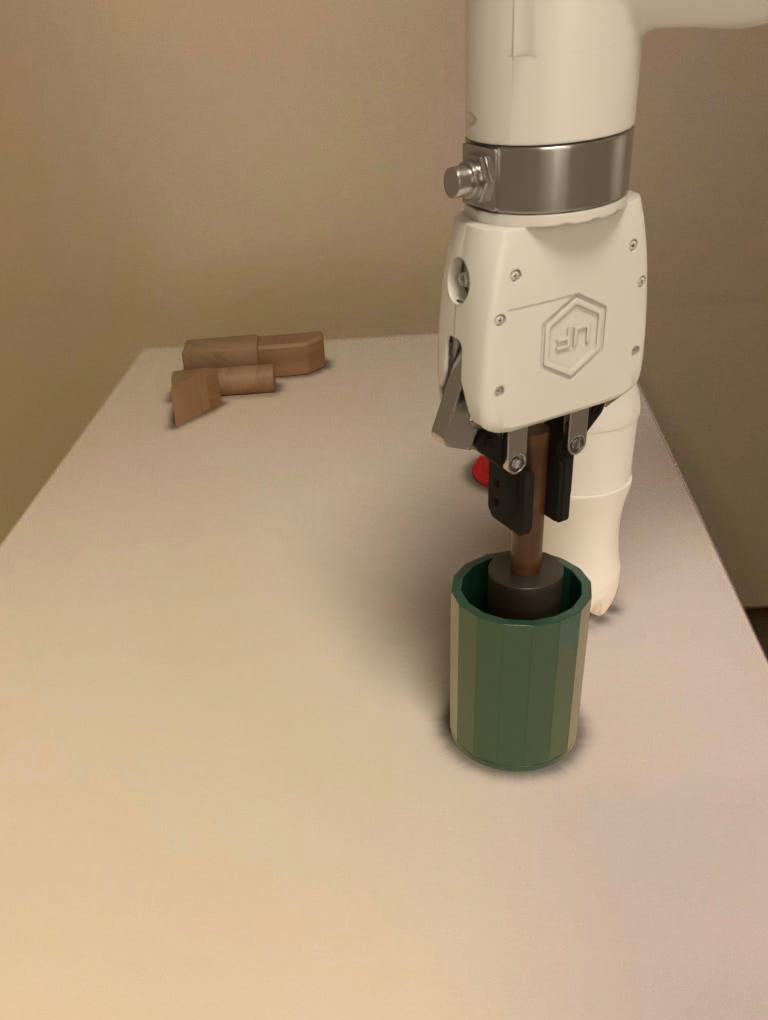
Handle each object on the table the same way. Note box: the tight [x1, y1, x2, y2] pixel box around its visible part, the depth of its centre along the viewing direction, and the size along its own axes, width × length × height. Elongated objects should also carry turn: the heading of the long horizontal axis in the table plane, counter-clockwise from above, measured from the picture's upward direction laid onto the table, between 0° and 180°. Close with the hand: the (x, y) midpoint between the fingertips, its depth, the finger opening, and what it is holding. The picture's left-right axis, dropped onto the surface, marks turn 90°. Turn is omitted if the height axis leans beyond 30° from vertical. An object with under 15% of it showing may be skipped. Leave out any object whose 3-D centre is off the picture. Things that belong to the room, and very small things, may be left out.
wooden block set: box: [169, 330, 326, 427], centre depth 117 cm, size 17×6×18 cm
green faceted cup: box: [449, 549, 592, 773], centre depth 63 cm, size 8×8×12 cm
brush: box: [487, 423, 564, 620], centre depth 59 cm, size 4×4×16 cm
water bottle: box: [542, 382, 642, 617], centre depth 71 cm, size 7×7×25 cm
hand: (528, 516), depth 57 cm, fingers closed on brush
